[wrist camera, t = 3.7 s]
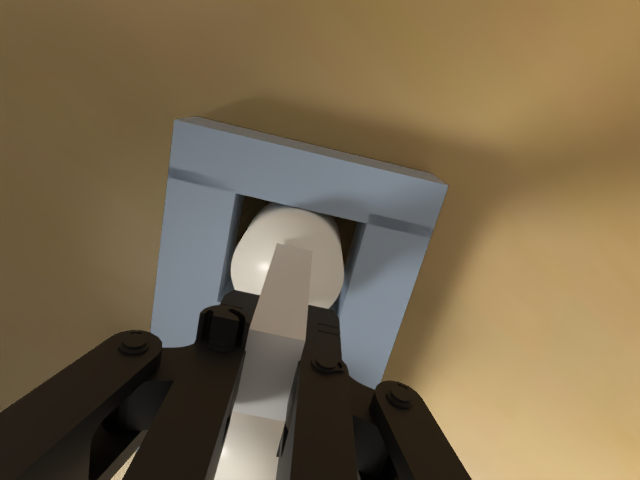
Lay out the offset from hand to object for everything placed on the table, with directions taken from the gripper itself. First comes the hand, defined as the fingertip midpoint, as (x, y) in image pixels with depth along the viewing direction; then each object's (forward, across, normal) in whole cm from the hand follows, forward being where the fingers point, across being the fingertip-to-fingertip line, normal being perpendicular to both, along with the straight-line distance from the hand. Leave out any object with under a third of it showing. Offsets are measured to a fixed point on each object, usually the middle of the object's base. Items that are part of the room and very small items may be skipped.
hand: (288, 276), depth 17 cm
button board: (+5, 0, -9) cm, 10 cm away
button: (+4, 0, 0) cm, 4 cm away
